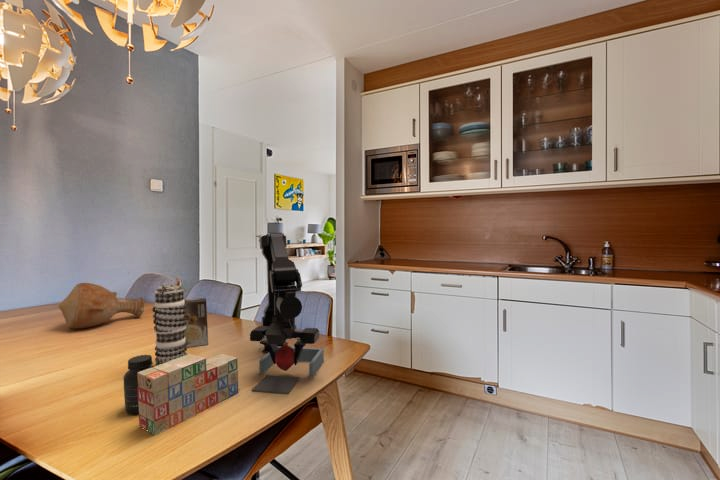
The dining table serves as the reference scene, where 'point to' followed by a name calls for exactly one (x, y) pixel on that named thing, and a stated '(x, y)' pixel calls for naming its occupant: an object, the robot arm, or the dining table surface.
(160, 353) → the decorative candle
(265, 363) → the u-shaped frame
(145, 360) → the supplement bottle
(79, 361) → the dining table surface
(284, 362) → the onion
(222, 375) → the stack of blocks
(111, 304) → the jug
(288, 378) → the mat
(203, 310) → the coffee box
